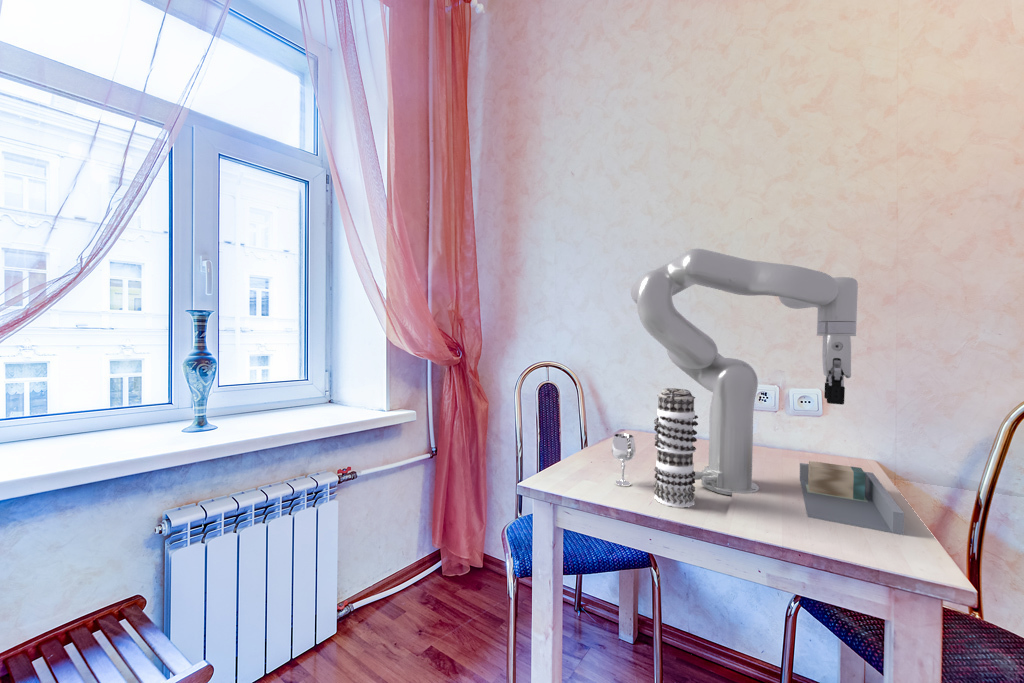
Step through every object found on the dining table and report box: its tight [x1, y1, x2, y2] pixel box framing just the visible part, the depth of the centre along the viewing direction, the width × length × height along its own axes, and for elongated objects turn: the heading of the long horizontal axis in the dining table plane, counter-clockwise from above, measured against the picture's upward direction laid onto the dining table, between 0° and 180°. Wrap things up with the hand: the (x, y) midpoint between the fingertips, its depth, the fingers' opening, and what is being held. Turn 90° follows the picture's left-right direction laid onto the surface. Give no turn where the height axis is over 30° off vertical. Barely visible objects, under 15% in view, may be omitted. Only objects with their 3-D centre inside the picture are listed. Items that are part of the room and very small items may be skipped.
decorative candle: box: [653, 387, 699, 508], centre depth 97 cm, size 9×9×25 cm
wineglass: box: [611, 433, 636, 485], centre depth 107 cm, size 6×6×12 cm
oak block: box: [808, 460, 865, 500], centre depth 100 cm, size 10×5×6 cm, turn 59°
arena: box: [799, 462, 905, 536], centre depth 95 cm, size 28×14×5 cm, turn 149°
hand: (833, 401), depth 103 cm, fingers open, 9 cm apart
